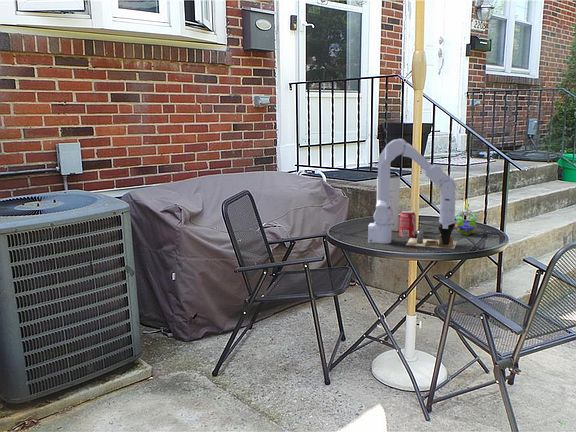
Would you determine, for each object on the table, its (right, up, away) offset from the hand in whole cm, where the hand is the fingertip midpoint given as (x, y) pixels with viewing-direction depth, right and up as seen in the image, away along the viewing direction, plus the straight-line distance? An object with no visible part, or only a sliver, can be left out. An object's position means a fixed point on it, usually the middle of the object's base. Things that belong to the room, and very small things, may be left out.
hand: (446, 242), depth 207 cm
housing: (0, -1, 0) cm, 1 cm away
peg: (-9, 0, +6) cm, 11 cm away
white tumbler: (-17, +3, +35) cm, 39 cm away
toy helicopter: (+16, +2, +23) cm, 28 cm away
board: (-4, -2, +6) cm, 7 cm away
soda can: (-11, +1, +20) cm, 23 cm away
